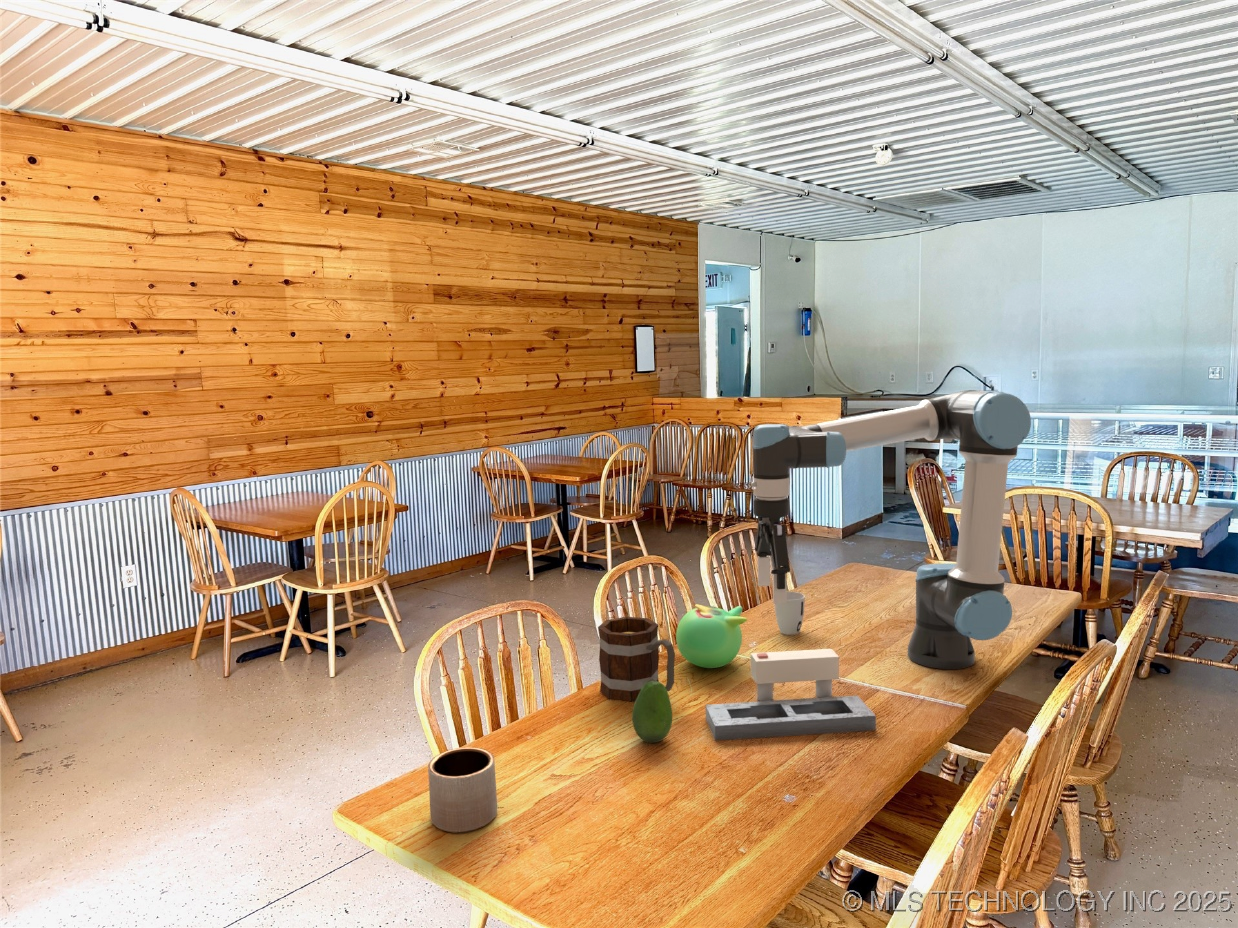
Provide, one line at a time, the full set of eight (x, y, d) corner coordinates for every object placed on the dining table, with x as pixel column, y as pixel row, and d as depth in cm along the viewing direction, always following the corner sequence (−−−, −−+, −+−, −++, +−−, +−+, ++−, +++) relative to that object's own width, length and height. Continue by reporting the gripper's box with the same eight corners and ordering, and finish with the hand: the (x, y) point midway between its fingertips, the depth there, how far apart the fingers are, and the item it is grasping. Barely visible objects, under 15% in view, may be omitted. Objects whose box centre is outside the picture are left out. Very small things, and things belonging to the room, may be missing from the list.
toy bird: (675, 651, 211) (674, 595, 209) (742, 650, 210) (741, 594, 208) (678, 679, 193) (676, 617, 191) (751, 677, 192) (750, 616, 191)
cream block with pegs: (831, 689, 184) (831, 646, 183) (838, 698, 179) (838, 654, 178) (751, 694, 183) (750, 650, 181) (756, 704, 178) (756, 659, 176)
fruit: (625, 735, 165) (624, 677, 163) (661, 727, 168) (660, 670, 166) (642, 752, 157) (641, 692, 156) (680, 744, 160) (678, 684, 159)
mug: (587, 691, 187) (585, 627, 185) (627, 674, 197) (626, 612, 195) (654, 715, 174) (652, 646, 172) (693, 695, 184) (692, 629, 182)
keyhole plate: (857, 708, 174) (857, 695, 173) (875, 730, 164) (875, 715, 164) (705, 718, 171) (705, 704, 171) (715, 740, 161) (714, 725, 161)
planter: (435, 801, 142) (432, 748, 141) (499, 797, 143) (496, 744, 142) (426, 837, 131) (422, 780, 130) (495, 832, 132) (492, 775, 131)
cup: (805, 637, 218) (805, 600, 217) (773, 636, 220) (773, 599, 219) (804, 627, 226) (804, 591, 225) (774, 626, 228) (774, 590, 227)
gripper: (741, 488, 189) (742, 579, 192) (768, 508, 164) (768, 612, 167) (773, 487, 190) (774, 578, 192) (805, 506, 165) (805, 610, 168)
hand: (771, 594), depth 180 cm, fingers open, 13 cm apart
